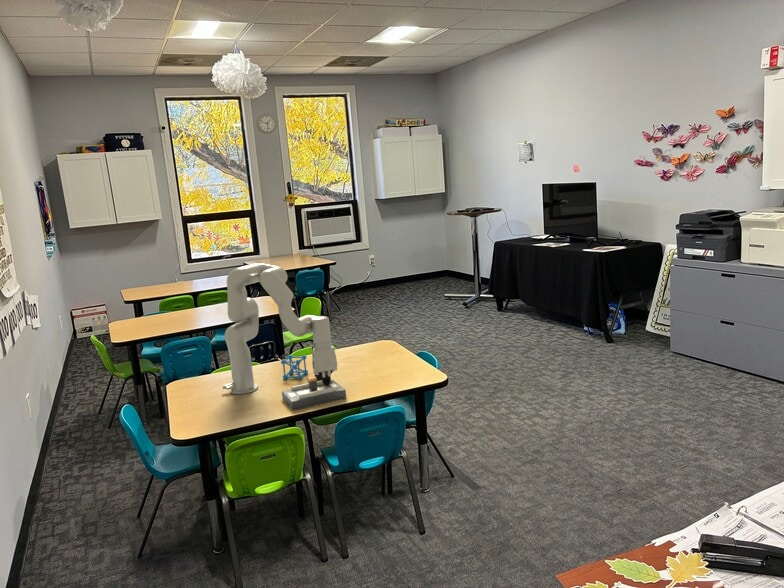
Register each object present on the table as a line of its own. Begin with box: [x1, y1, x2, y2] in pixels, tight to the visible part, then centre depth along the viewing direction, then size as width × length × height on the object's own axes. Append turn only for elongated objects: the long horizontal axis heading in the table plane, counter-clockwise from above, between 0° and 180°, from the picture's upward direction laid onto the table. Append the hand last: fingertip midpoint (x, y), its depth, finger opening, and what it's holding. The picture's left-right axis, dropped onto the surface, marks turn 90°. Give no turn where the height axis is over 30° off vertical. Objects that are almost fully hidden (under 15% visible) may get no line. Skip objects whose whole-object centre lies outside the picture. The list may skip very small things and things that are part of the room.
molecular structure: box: [280, 354, 309, 380], centre depth 290 cm, size 10×10×10 cm
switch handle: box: [307, 375, 318, 391], centre depth 257 cm, size 3×3×5 cm
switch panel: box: [281, 379, 347, 411], centre depth 257 cm, size 24×16×5 cm, turn 115°
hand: (326, 385), depth 260 cm, fingers closed
